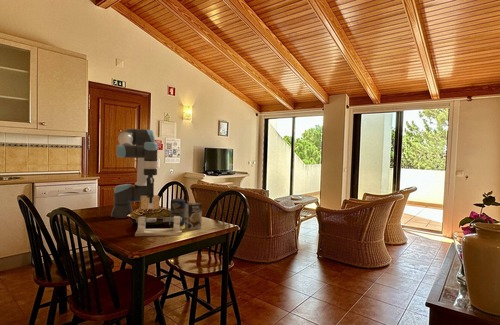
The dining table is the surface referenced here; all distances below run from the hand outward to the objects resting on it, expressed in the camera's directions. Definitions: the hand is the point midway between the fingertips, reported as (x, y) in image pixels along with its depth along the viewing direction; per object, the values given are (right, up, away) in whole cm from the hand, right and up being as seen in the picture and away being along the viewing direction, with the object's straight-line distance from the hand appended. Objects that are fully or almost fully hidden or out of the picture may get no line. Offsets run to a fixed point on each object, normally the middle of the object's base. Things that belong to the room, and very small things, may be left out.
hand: (149, 207), depth 175 cm
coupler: (0, 0, 0) cm, 0 cm away
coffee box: (+23, -16, +15) cm, 31 cm away
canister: (+11, -15, +23) cm, 30 cm away
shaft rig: (+5, -16, +1) cm, 16 cm away
